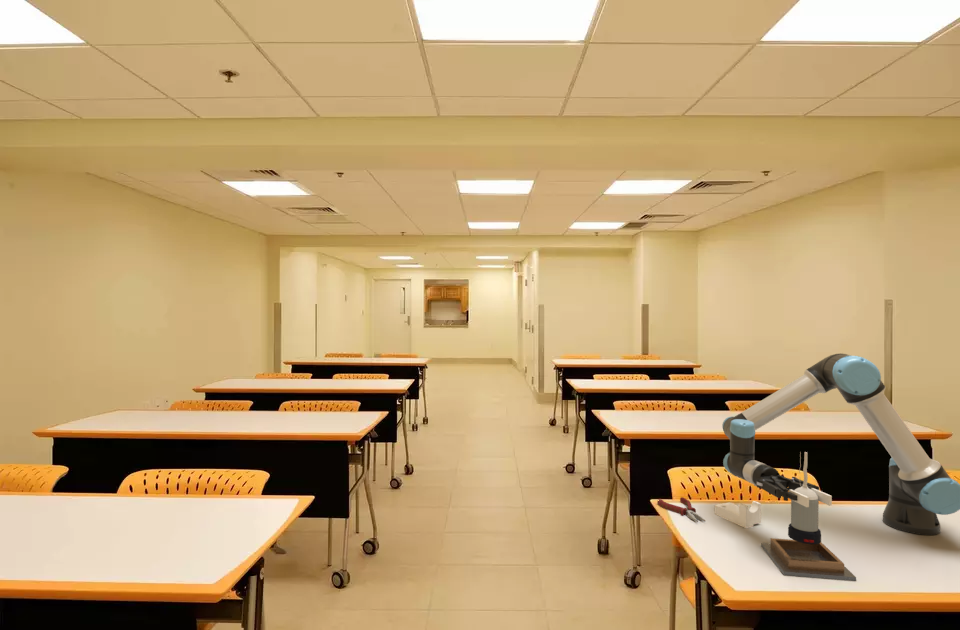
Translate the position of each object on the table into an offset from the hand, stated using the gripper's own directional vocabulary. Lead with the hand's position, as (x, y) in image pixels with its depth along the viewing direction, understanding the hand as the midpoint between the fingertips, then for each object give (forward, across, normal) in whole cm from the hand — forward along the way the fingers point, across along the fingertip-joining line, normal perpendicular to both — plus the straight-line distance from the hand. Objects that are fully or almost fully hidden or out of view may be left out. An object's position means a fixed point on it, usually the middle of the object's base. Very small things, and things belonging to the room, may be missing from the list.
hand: (819, 501), depth 148 cm
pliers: (-47, +15, -21) cm, 53 cm away
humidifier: (-5, 0, -13) cm, 14 cm away
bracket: (-37, -1, -20) cm, 42 cm away
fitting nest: (-5, 0, -20) cm, 20 cm away
